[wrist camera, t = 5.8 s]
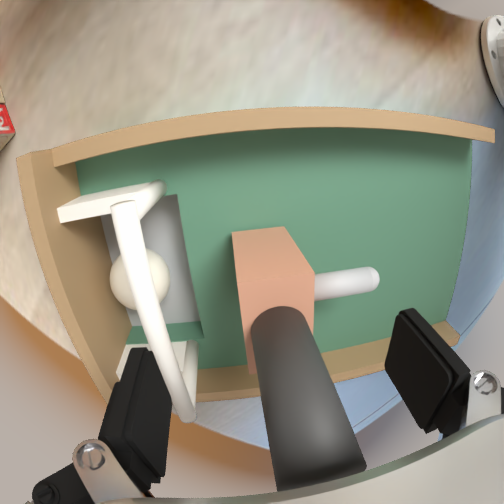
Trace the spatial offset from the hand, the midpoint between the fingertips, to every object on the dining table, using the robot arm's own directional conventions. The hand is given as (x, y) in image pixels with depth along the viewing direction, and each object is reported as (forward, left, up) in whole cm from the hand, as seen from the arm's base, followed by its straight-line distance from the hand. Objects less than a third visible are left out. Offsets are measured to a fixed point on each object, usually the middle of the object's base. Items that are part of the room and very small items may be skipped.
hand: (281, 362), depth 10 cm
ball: (+7, 0, -8) cm, 11 cm away
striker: (-3, 0, -8) cm, 8 cm away
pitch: (-3, 0, -11) cm, 11 cm away
